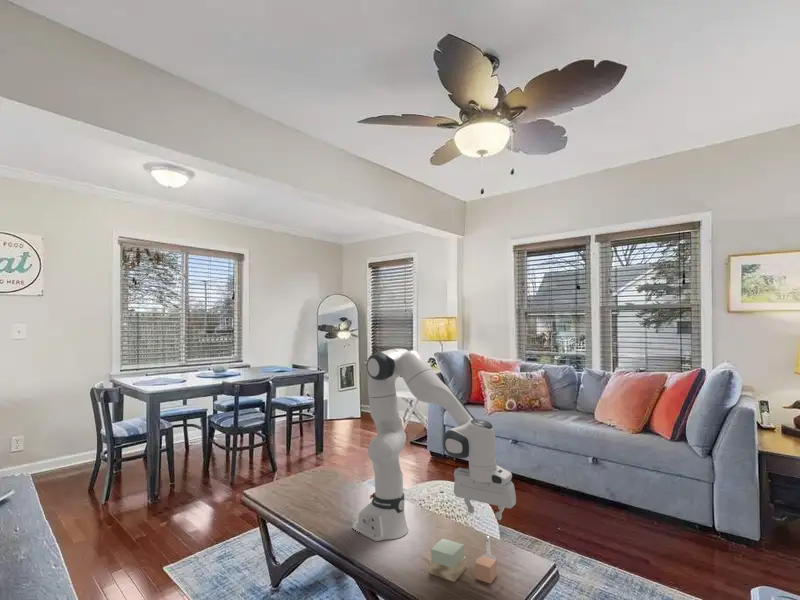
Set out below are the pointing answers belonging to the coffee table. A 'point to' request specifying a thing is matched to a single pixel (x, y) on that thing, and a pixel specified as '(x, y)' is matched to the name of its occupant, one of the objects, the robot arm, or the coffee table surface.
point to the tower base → (448, 570)
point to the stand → (488, 549)
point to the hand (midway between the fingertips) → (484, 515)
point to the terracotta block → (486, 569)
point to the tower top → (447, 553)
